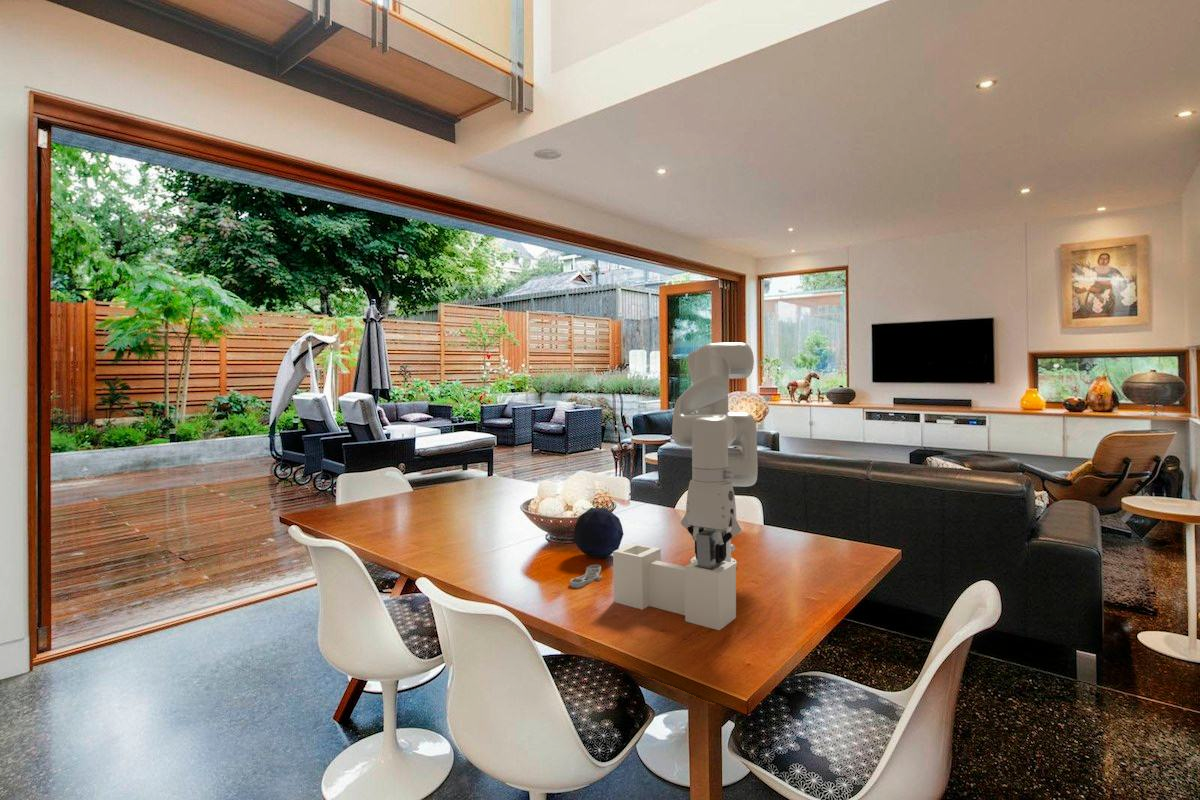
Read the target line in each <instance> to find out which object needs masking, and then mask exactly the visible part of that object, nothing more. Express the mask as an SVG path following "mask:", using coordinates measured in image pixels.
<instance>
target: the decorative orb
mask: <svg viewBox="0 0 1200 800" xmlns="http://www.w3.org/2000/svg"><path fill="white" fill-rule="evenodd" d="M623 537H624V530H623V525H622V523H621V520H620V517H618V516H617V515H615V514H614V513H613V512H612V511H611V510H609V509H608V508H605V507H591V508H589V509H587V510H586V511H585V512H583V513H582V514H580V515H579V516H578V517H577V520H576V521H575V525H574V528H573V541H574V543H575V544H576V547H577V548H578V549H579V550H580V551H581V552H582V553H583V554H584V555H585V556H587V558H588V557H589V558H591V559H592V558H593V559H607V558H608V557H610V556H611V555H613V551H615V550H618V549H620V545H621V543H622V539H623Z"/></svg>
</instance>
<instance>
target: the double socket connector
mask: <svg viewBox="0 0 1200 800" xmlns="http://www.w3.org/2000/svg"><path fill="white" fill-rule="evenodd" d="M612 557H613V559H612V561H613V562H612V564H613V565H612V567H613V603H616V604H620V605H623V606H628V607H631V608H635V609H638V610H641V611H643V610H644V609H647V608H648V607H652V608H655V609H660V610H662V611H663V610H664V611H667V612H671V613H675V614H678V615H682V616H684V617H685V618H684V619H685V622H687V623H690V624H693V625H698V626H702V627H705V628H710V629H713V630H717V631H721V630H722V629H724V628H725V627H726V626H727V625H729V624H730V623H731V622H732V621H734V620H735V619H736V618H737V566H736V563H732V562H727V561H723V562H721V566H719V567H718V568H716V569H714V570H709V569H704V568H699V567H698V561H697V560H696V561H694V562H692V563H691V562H690V563H688V564H686V565H680V564H675V563H670V562H667V561H666V562H665V561H662V549H661V548H659V547H653V546H648V545H643V544H637V543H630V544H627V545H625V546H622V547H619V549H618V550H615V551H613V553H612Z"/></svg>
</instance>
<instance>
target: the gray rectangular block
mask: <svg viewBox="0 0 1200 800" xmlns="http://www.w3.org/2000/svg"><path fill="white" fill-rule="evenodd" d="M696 542H697V561H698V567H699V568H704V569H709V570H714V569H716V568H718V567H719V566H721V563H716V561H715V546H716V545H717V544H718V540H717V535H716V530H712V529H704V530H703V531H701V532H699V533H698V534H696Z"/></svg>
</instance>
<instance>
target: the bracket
mask: <svg viewBox="0 0 1200 800" xmlns="http://www.w3.org/2000/svg"><path fill="white" fill-rule="evenodd" d="M601 572H602V566H601V565H600V564H591V565H590V564H589V565H588V566H586V567H585V573H584V574H583V575H580V576H578V577H573V578H571V579H570V580H569V581H570V582H569V584H570V585H569V587H571V588H573V589H574V588H575V589H578V588H582V587H583V588H584V586H587V584H590V583H593V582H594V581H601V579H602V575H600V574H601Z"/></svg>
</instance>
